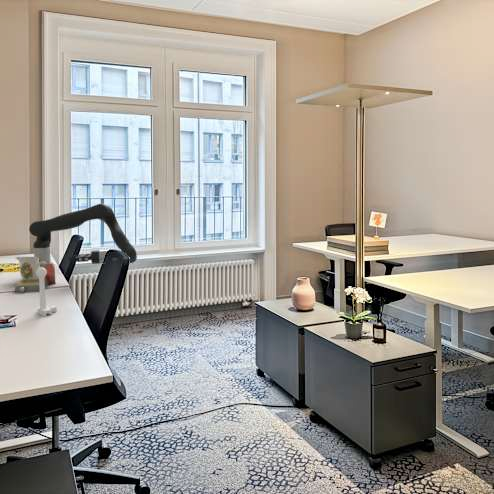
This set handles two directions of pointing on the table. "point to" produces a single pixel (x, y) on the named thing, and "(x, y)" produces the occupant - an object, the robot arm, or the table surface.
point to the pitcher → (29, 267)
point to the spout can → (50, 272)
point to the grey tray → (29, 285)
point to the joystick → (43, 294)
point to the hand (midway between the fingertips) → (70, 258)
